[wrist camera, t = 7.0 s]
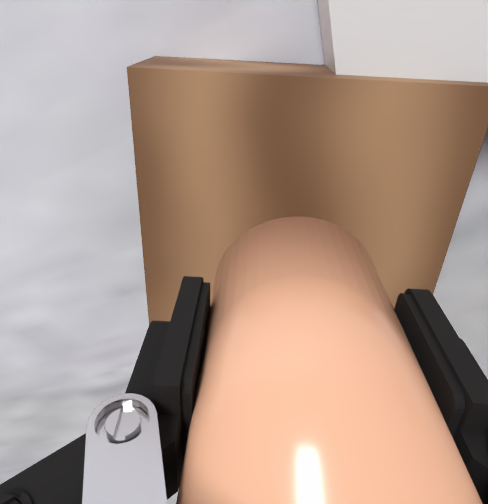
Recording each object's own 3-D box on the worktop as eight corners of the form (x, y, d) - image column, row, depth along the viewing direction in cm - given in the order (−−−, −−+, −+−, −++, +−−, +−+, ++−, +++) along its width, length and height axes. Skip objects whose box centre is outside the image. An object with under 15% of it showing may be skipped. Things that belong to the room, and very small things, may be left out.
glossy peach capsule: (391, 221, 12) (620, 583, 4) (359, 353, 15) (470, 730, 7) (215, 211, 12) (138, 554, 5) (213, 345, 15) (163, 709, 7)
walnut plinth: (452, 72, 17) (501, 86, 13) (387, 310, 23) (410, 363, 19) (154, 56, 17) (126, 67, 13) (168, 296, 23) (151, 347, 19)
